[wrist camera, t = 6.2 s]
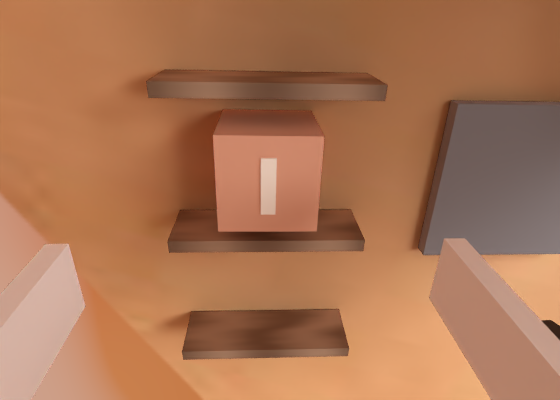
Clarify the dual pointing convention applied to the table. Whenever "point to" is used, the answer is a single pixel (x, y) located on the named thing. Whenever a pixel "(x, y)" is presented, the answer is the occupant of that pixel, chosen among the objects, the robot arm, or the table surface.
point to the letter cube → (267, 170)
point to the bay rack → (205, 237)
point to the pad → (497, 179)
